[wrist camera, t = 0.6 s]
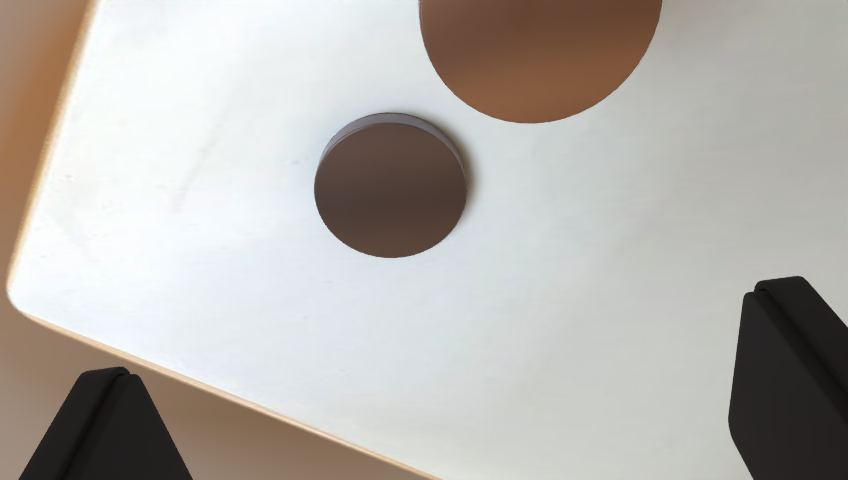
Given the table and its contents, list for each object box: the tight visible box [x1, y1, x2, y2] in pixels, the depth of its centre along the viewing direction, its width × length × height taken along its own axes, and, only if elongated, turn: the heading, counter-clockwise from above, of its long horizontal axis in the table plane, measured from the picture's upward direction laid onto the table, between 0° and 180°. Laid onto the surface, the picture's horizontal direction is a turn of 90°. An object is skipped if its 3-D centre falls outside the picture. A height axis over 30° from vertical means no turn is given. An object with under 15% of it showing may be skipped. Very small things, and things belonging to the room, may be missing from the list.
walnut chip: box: [314, 113, 467, 258], centre depth 38 cm, size 8×8×2 cm
